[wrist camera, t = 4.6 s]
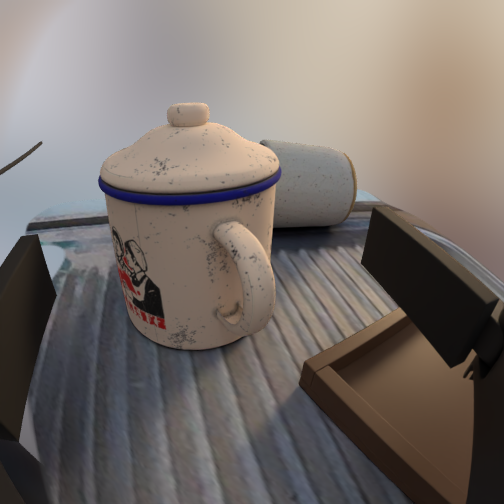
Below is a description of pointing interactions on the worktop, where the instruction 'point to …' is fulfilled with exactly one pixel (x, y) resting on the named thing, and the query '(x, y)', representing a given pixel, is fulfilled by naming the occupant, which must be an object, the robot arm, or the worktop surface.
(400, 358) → the rectangular tray
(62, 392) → the worktop surface
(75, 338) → the worktop surface
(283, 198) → the ceramic mug
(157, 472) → the worktop surface
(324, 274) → the worktop surface
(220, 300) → the teacup with lid
